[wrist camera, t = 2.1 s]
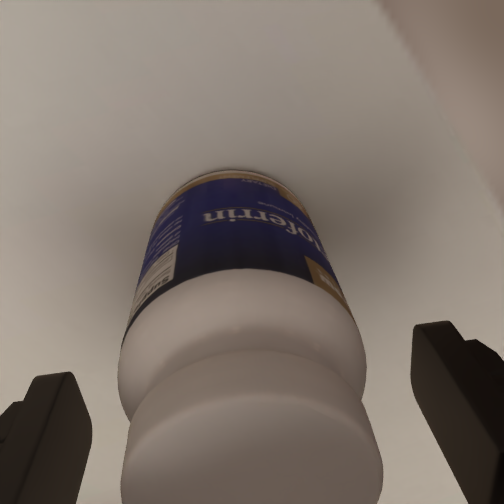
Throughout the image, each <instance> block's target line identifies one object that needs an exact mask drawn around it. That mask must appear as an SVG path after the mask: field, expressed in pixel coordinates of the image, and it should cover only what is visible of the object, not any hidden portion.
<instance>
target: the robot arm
mask: <svg viewBox="0 0 504 504" xmlns="http://www.w3.org/2000/svg"><path fill="white" fill-rule="evenodd" d="M410 375H411V384H412V389H413V393H414V396H415V399H416V401H417V403H418V405H419V407H420V409H421V411H422V413H423V415H424V417H425V419H426V421H427V423H428V425H429V427H430V429H431V431H432V433H433V435H434V437H435V439H436V441H437V443H438V444H439V446H440V448H441V450H442V452H443V454H444V456H445V458H446V460H447V462H448V464H449V466H450V468H451V470H452V472H453V474H454V476H455V478H456V480H457V482H458V484H459V486H460V488H461V490H462V492H463V494H464V496H465V498H466V500H467V502H468V504H504V361H503V360H502V359H501V357H500V356H499V355H498V354H497V353H496V352H495V351H493V350H492V349H490V348H489V347H487V346H486V345H484V344H483V343H481V342H480V341H478V340H477V339H474V340H466V341H465V340H464V339H463V338H462V336H461V335H460V333H459V332H458V331H457V329H456V328H455V327H454V325H453V324H452V323H451V322H450V321H439V322H432V323H425V324H418V325H415V326H414V329H413V339H412V356H411V374H410ZM91 443H92V423H91V419H90V416H89V413H88V410H87V408H86V405H85V402H84V400H83V397H82V395H81V392H80V389H79V387H78V384H77V381H76V379H75V377H74V375H73V374H72V373H71V372H62V373H55V374H47V375H40V376H36V377H35V378H34V379H33V381H32V383H31V385H30V387H29V389H28V391H27V394H26V396H25V398H24V400H23V401H18V402H13V403H12V404H11V405H10V406H9V407H8V408H7V409H6V410H5V412H4V413H3V414H2V415H1V416H0V504H76V501H77V497H78V493H79V490H80V486H81V482H82V478H83V474H84V471H85V467H86V463H87V459H88V456H89V452H90V448H91Z"/></svg>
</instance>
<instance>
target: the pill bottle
mask: <svg viewBox="0 0 504 504" xmlns="http://www.w3.org/2000/svg"><path fill="white" fill-rule="evenodd" d="M366 368H367V366H366V355H365V350H364V346H363V342H362V339H361V335H360V333H359V330H358V327H357V325H356V323H355V320H354V318H353V315H352V313H351V310H350V308H349V306H348V304H347V302H346V299H345V297H344V295H343V292H342V290H341V288H340V285H339V283H338V281H337V278H336V276H335V274H334V272H333V269H332V267H331V265H330V262H329V260H328V258H327V255H326V253H325V251H324V249H323V247H322V244H321V242H320V240H319V237H318V235H317V233H316V230H315V228H314V226H313V224H312V222H311V219H310V218H309V216H308V214H307V212H306V210H305V208H304V207H303V206H302V204H301V203H300V201H299V200H298V199H297V198H296V196H295V195H294V194H293V193H292V192H291V191H289V190H288V189H287V188H286V187H285V186H283V185H282V184H280V183H278V182H277V181H275V180H273V179H271V178H269V177H266V176H263V175H261V174H257V173H253V172H247V171H236V170H228V171H219V172H213V173H210V174H206V175H204V176H201V177H199V178H196V179H194V180H192V181H191V182H189V183H187V184H186V185H184V186H183V187H182V188H180V189H179V190H178V191H176V192H175V193H174V194H173V195H172V196H171V197H170V198H169V199H168V201H167V202H166V203H165V204H164V206H163V207H162V209H161V210H160V212H159V214H158V216H157V218H156V220H155V223H154V225H153V228H152V231H151V235H150V239H149V242H148V246H147V250H146V254H145V257H144V261H143V265H142V269H141V273H140V277H139V280H138V284H137V288H136V292H135V296H134V300H133V304H132V308H131V312H130V316H129V320H128V323H127V327H126V331H125V334H124V338H123V341H122V345H121V351H120V357H119V363H118V376H117V378H118V390H119V396H120V400H121V403H122V406H123V409H124V411H125V413H126V415H127V417H128V419H129V421H130V423H131V424H130V428H129V431H128V439H127V445H126V451H125V456H124V463H123V469H122V476H121V497H122V503H123V504H377V502H378V500H379V497H380V494H381V491H382V485H383V464H382V459H381V455H380V452H379V449H378V446H377V442H376V439H375V436H374V433H373V430H372V427H371V424H370V421H369V419H368V416H367V413H366V410H365V408H364V406H363V404H362V401H361V399H362V395H363V392H364V387H365V381H366Z"/></svg>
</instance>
